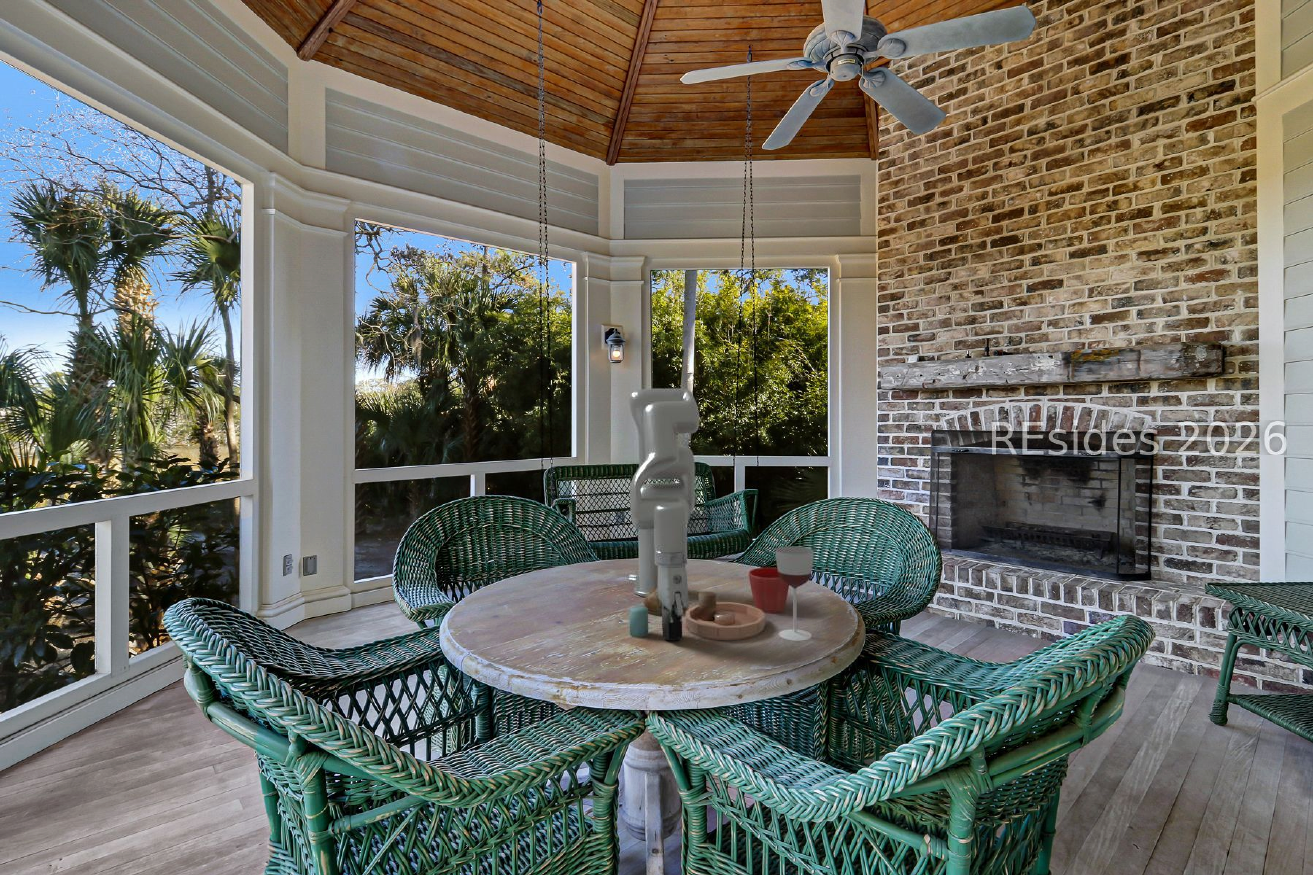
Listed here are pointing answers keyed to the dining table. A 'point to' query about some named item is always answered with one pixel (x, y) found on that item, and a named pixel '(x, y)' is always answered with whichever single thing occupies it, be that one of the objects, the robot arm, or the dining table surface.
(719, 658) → the dining table surface
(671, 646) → the dining table surface
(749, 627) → the groove dish
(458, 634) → the dining table surface
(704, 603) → the bead
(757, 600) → the flower pot
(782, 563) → the wineglass
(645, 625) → the teal capsule
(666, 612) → the bead
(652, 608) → the bread roll
